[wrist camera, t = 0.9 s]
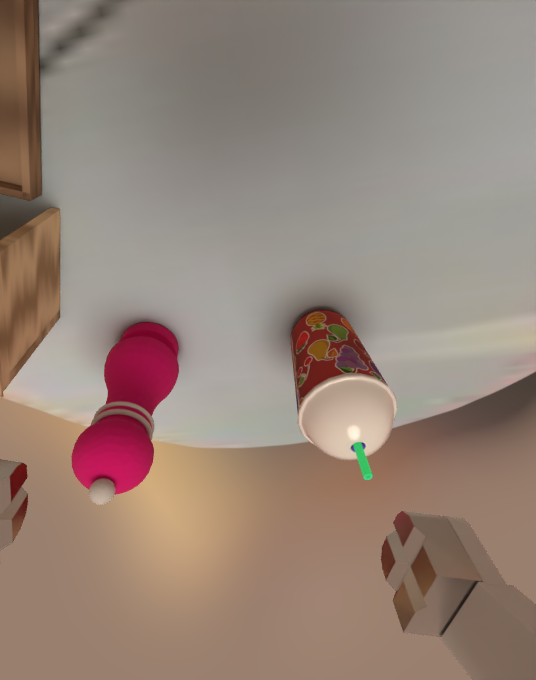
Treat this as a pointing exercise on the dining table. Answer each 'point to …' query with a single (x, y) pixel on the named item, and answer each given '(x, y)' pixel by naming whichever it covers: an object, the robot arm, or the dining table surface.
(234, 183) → the dining table surface
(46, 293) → the counter cubby
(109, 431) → the pepper mill
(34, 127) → the tray
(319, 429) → the smoothie
